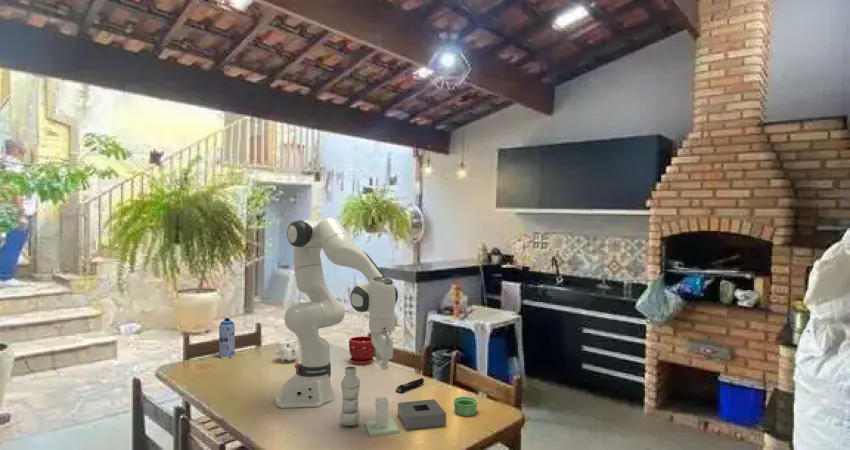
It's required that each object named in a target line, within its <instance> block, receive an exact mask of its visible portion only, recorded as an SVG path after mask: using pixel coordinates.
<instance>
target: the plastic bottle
mask: <svg viewBox="0 0 850 450" xmlns="http://www.w3.org/2000/svg"><path fill="white" fill-rule="evenodd" d="M344 369H345V370H344V374H345V375H344V377H343V378H342V380H341V382H340V387H341V393H342V397H341V398H342V406H341V413H340V422H341V424H342V425H343V426H345V427H353V426H357V425H358V424H359V422H360V419H361V416H360V414H361V413H360V410H359V409H360V408H359V396H360V395H359V394H360V387H361V381H360V379H359V377H358V376H357V375H356V374H357V368H356V366H346V367H345V368H344Z"/></svg>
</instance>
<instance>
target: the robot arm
mask: <svg viewBox="0 0 850 450" xmlns="http://www.w3.org/2000/svg"><path fill="white" fill-rule="evenodd" d="M286 237H287V240H288V243H289V244H290V245H291V246H292V247H293V251H292V252H293V253H292V254H293V257H292V258H293V259H292V260H293V269H294V275H295V276H294V277H295V283H296V287H297V289H298V291H300V292H301V293H303V294H305V295H307V297H308V298H309V300H310V301H309V302H307V301H306V302H301V303H297V304H295V305H291V306H289V307H288V308H287V309H286V311H285V313H284V324H285V326H286V328H287V329H288V330H289V331H290V332H292V333H293V334H294V335H295V336H296V338H297V340H298V343H299V346H300V357H301V361H300V362H301V363H299V362H296V363H295V364H294V369H295V374H294V375H292V377H290V378H288V380H286V381H285V382H284V383H283V386H282V388H281V391H280V393H278V394H277V395H276V396H275V403H274V404H275V405H276V407H278V408H281V409H283V408H284V409H286V408H287V409H288V408H289V409H291V408H293V409H294V408H317V407H321V406H322V405H323V404H326V403H328V402H331V401H332V400H333V399H334V397H335V396H334V393H333V389H332V383H331V374H332V365H331V361H330V355H331V354H330V349H331V348H330V343H329V342H328V341H327V340H326V338H323V337H322V336H321V337H320V334H319V329H323V328H329V327H334V326H335V325H337V324H340V323H341V322H343V320H344V318H345V314H346V309H345V305H343V303H342V302H341V301H340V300H338V299H337V298H335V296H333V295H332V293H331V292H330V290H329V288H328V287H327V286H328V285H327V284H326V280H325V276H324V275H325V274H324V269H323V264H322V259H321V251H323V252H324V253H323V254H324V255H325V256H326V258H327V259H328V260H329V261H330V262H331V263H333V264H334V265H337V266H341V267H345V268H350V269H354V270H357V271H358V272H360V273H361V274H362V275H363V276H364V277H365V279H366V280H367V282H366V283H362V284H359V285H356V286H354V287H353V289H352V290H351V293H350V296H349V297H350V298H349V299H350V300H349V301H350V305H351V307H352V309H354V311H356V312H358V313H367V312H368V313H369V315H368V317H369V318H368V319H369V320H368V326H369V327H368V330H369V331H370V337H371V341H372V345H373V346H374V348H375V351H374V352H375V357H376V358H375V360H376V362H381V366H380V367H381V370H382V371H385V370H388V364H389V361H390V360H392V359H393V356H394V344H393V343H394V341H393V336H392V332H394V331H395V330H396V314H395V307H396V304H397V302H398V299H399V293H398V292H399V291H398V288H397V287H396V286H395V283H394V281H393V280H392V279H391V278H388V277H386V276H385V274H384V273H383V272H382V271H381V269H380V268H379V267H378V265H377V264H376V263H375V262H374V261H373V258H371V256H369V254H368V253H367V252H365V251H364V250H363V249H361V248H360V247H359V246H358V245H357V244H356V243H355V242H354V241H353V240H352V238H351V237H350V235H349V233H348V232H347V230H346V229H345V227H344V226H343V225H342V224H341V222H339V221H338V219H336V218H334V217H326V218H323V219H320V218H319V219H316V218H314V219H305V220H302V219H299V220H295V221H292V222H291V223H290V224H289V225H288V227H287V230H286Z"/></svg>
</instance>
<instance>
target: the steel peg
mask: <svg viewBox="0 0 850 450" xmlns="http://www.w3.org/2000/svg"><path fill="white" fill-rule="evenodd" d="M388 419H389V400H388V397H387V396H386V397H385V396H384V397H375V420H376V428H388Z"/></svg>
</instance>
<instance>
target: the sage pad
mask: <svg viewBox="0 0 850 450" xmlns="http://www.w3.org/2000/svg"><path fill="white" fill-rule="evenodd" d="M364 425H365V428H366V431H367V433H368V435H369V437H375V436H384V435H393V434H399V433H400V429H399V427H398V426H397V423H396V421H395V420H394V418H393V417H392V418H388V428H376V419H375V420H367V421H364Z"/></svg>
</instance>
